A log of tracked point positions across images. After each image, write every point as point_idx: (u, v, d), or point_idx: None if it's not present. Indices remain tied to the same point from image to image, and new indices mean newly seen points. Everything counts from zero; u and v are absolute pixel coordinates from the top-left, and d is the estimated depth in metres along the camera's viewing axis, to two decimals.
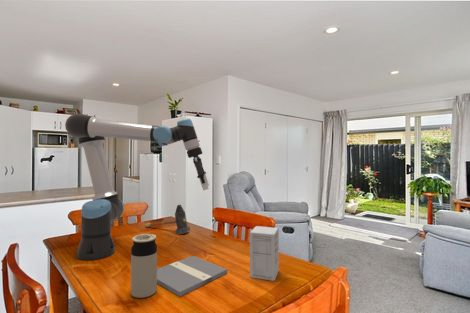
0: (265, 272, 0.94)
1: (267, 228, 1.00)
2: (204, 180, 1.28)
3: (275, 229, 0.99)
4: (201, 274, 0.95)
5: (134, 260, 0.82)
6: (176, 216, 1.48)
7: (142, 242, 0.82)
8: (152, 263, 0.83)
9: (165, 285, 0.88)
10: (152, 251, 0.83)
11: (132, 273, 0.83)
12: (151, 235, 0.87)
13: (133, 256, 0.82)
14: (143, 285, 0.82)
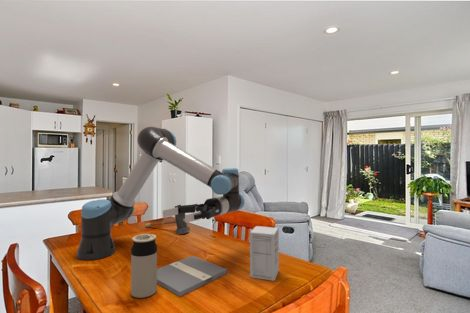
0: (265, 272, 0.94)
1: (267, 228, 1.00)
2: None
3: (275, 229, 0.99)
4: (201, 274, 0.95)
5: (134, 260, 0.82)
6: (176, 216, 1.48)
7: (142, 242, 0.82)
8: (152, 263, 0.83)
9: (165, 285, 0.88)
10: (152, 251, 0.83)
11: (132, 273, 0.83)
12: (151, 235, 0.87)
13: (133, 256, 0.82)
14: (143, 285, 0.82)
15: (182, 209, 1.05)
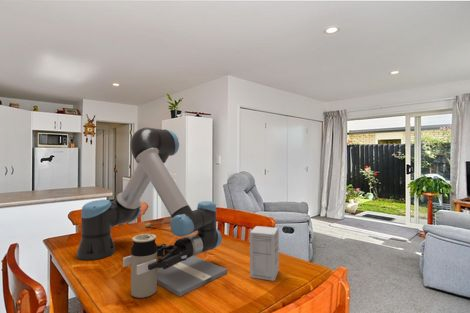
0: (265, 272, 0.94)
1: (267, 228, 1.00)
2: None
3: (275, 229, 0.99)
4: (201, 274, 0.95)
5: (134, 260, 0.82)
6: None
7: (142, 242, 0.82)
8: None
9: (165, 285, 0.88)
10: (152, 251, 0.83)
11: (132, 273, 0.83)
12: (151, 235, 0.87)
13: (133, 256, 0.82)
14: (143, 285, 0.82)
15: None
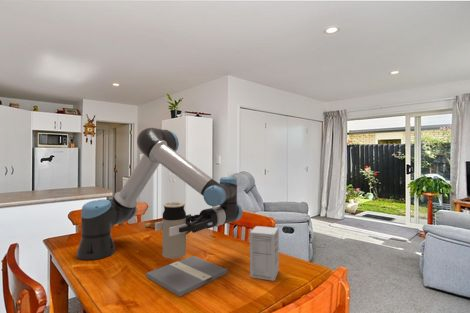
0: (265, 272, 0.94)
1: (267, 228, 1.00)
2: None
3: (275, 229, 0.99)
4: (201, 274, 0.95)
5: (166, 224, 0.89)
6: None
7: (173, 207, 0.89)
8: None
9: (165, 285, 0.88)
10: (182, 216, 0.90)
11: (164, 236, 0.90)
12: (180, 203, 0.94)
13: (165, 220, 0.89)
14: (174, 247, 0.89)
15: None
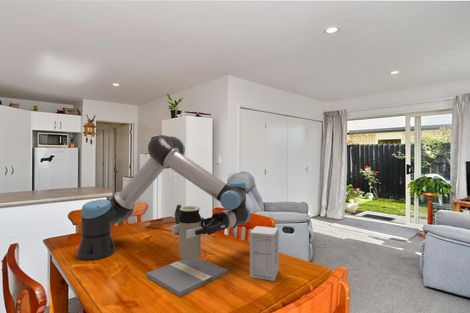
0: (265, 272, 0.94)
1: (267, 228, 1.00)
2: None
3: (275, 229, 0.99)
4: (201, 274, 0.95)
5: (183, 227, 0.95)
6: (176, 216, 1.49)
7: (190, 211, 0.95)
8: None
9: (165, 285, 0.88)
10: (198, 219, 0.96)
11: (181, 238, 0.95)
12: (195, 207, 1.00)
13: (182, 223, 0.95)
14: (191, 248, 0.94)
15: None
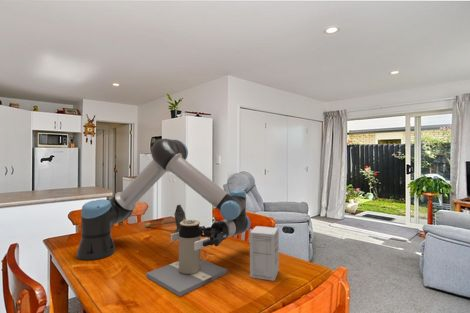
0: (265, 272, 0.94)
1: (267, 228, 1.00)
2: None
3: (275, 229, 0.99)
4: (201, 274, 0.95)
5: (183, 241, 0.95)
6: (176, 216, 1.49)
7: (190, 226, 0.95)
8: None
9: (165, 285, 0.88)
10: (197, 234, 0.96)
11: (180, 253, 0.96)
12: (195, 221, 1.00)
13: (182, 238, 0.95)
14: (190, 263, 0.95)
15: None
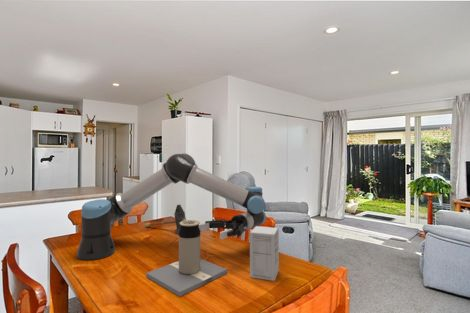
0: (265, 272, 0.94)
1: (267, 228, 1.00)
2: None
3: (275, 229, 0.99)
4: (201, 274, 0.95)
5: (183, 241, 0.95)
6: (176, 216, 1.49)
7: (189, 226, 0.95)
8: (197, 244, 0.96)
9: (165, 285, 0.88)
10: (197, 234, 0.96)
11: (180, 253, 0.96)
12: (195, 221, 1.00)
13: (181, 238, 0.95)
14: (190, 263, 0.95)
15: (212, 224, 1.16)
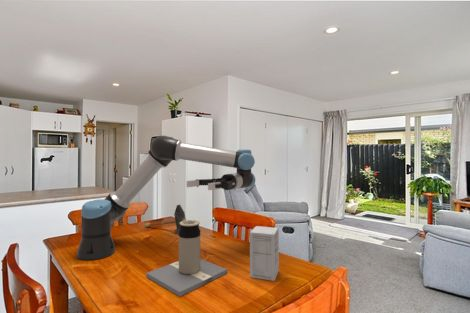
0: (265, 272, 0.94)
1: (267, 228, 1.00)
2: None
3: (275, 229, 0.99)
4: (201, 274, 0.95)
5: (183, 241, 0.95)
6: (175, 216, 1.49)
7: (189, 226, 0.95)
8: (197, 244, 0.96)
9: (165, 285, 0.88)
10: (197, 234, 0.96)
11: (180, 253, 0.96)
12: (195, 221, 1.00)
13: (181, 238, 0.95)
14: (190, 263, 0.95)
15: (202, 182, 1.20)
